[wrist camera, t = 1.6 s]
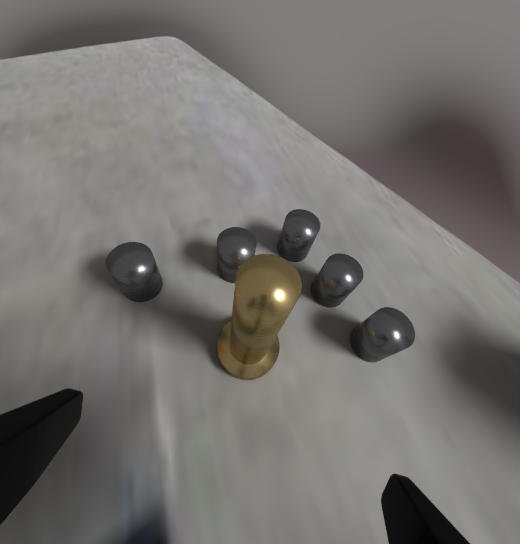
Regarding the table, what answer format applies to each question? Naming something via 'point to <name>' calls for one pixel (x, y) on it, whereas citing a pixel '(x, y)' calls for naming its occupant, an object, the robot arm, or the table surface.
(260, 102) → the table surface
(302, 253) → the cylinder
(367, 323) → the dark grey domed cylinder
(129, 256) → the cylinder
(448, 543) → the robot arm
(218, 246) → the dark gray domed cylinder
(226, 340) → the brass pin
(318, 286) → the dark grey domed cylinder
